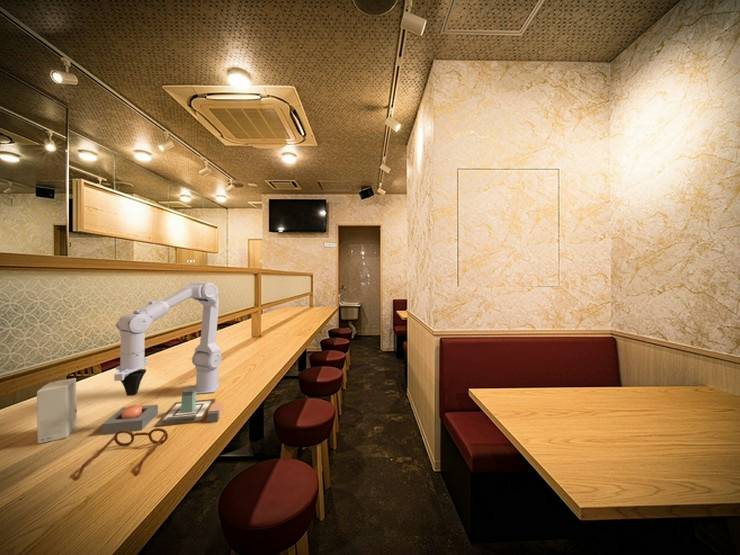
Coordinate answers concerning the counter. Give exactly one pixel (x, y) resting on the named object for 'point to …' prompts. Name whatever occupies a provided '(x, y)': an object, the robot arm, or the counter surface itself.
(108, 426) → the button housing
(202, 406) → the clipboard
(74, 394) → the skincare box
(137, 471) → the glasses
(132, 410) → the button
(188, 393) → the block
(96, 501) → the counter surface
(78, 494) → the counter surface
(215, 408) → the terracotta marker
